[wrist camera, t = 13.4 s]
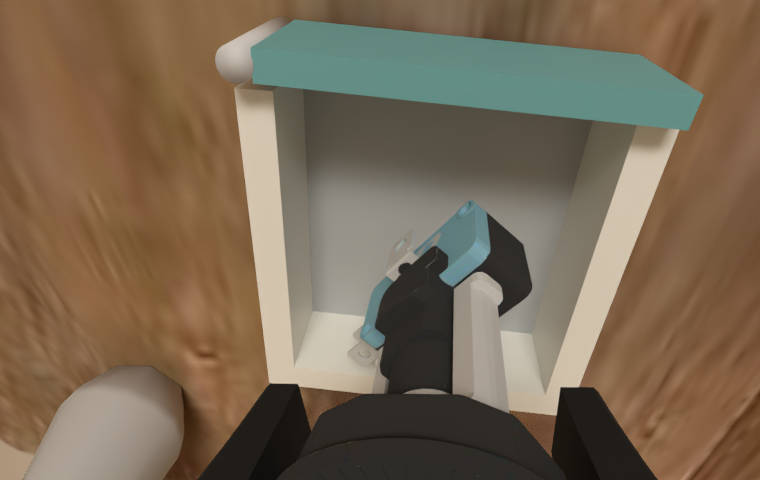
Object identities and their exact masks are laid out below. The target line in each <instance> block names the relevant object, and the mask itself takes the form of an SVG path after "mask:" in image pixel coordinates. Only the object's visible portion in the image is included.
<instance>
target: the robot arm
mask: <svg viewBox="0 0 760 480" xmlns="http://www.w3.org/2000/svg"><path fill="white" fill-rule="evenodd" d="M310 433H311V429H310V426H309V422H308V418H307V415H306V411H305V408H304V404H303V400H302V397H301V393H300V389H299V386H298V384H273V383H271V384H270V385H268V386H267V387H266V389H265V390H264V392H263V393H262V394H261V396H260V397H259V399H258V400H257V401H256V403H255V404H254V406H253V407H252V408H251V410H250V411H249V413H248V414H247V415H246V417H245V418H244V419H243V421H242V422H241V423H240V425H239V426H238V428H237V429H236V430H235V432H234V433H233V434H232V436H231V437H230V438H229V440H228V441H227V442H226V444H225V445H224V446H223V447H222V449H221V450H220V451H219V453H218V454H217V455H216V456H215V458H214V459H213V460H212V462H211V463H210V464H209V465H208V467H207V468H206V469H205V470H204V472H203V473H202V474H201V476H200V477H199V478H198V479H197V480H276V479H277V478H278V477H279V476H280V475H281V474H282V473H283V472H284V471H285V470H286V469H287V468H289V467H290V466H291V465H293V464H294V463H295V462H296V460H297V458H298V456H299V455H300V453H301V451H302V449H303V447H304V445H305V443H306V441H307V439H308V437H309V435H310ZM552 457H553V460H554V461H555V462H556V464H557V465H558V466H559V467H560V468H561V469H562V471H563V472H564V474H565V477H566V480H657V478H656V477H655V476H654V474H653V473H652V472H651V470H650V469H649V467H648V466H647V465H646V463H645V462H644V460H643V459H642V458H641V456H640V455H639V453H638V452H637V450H636V449H635V448H634V446H633V445H632V443H631V442H630V440H629V439H628V437H627V436H626V434H625V433H624V432H623V430H622V429H621V427H620V426H619V424H618V423H617V421H616V419H615V418H614V416H613V415H612V413H611V412H610V410H609V409H608V407H607V405H606V404H605V402H604V401H603V399H602V397H601V396H600V394H599V392H598V391H597V390H595V389H594V388H590V387H560V394H559V402H558V409H557V416H556V423H555V430H554V437H553V445H552Z"/></svg>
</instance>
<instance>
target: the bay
mask: <svg viewBox="0 0 760 480" xmlns="http://www.w3.org/2000/svg"><path fill="white" fill-rule="evenodd" d="M234 91H235V100H236V108H237V116H238V125H239V133H240V141H241V150H242V158H243V167H244V175H245V183H246V192H247V200H248V208H249V217H250V225H251V233H252V242H253V250H254V259H255V267H256V275H257V284H258V292H259V300H260V309H261V317H262V326H263V334H264V342H265V351H266V359H267V367H268V376H269V383H274V384H298V386H301V387H309V388H318V389H327V390H336V391H345V392H354V393H362V394H371V393H372V388H373V383H374V378H375V373H376V368H377V366H376V365H375V360H373V361H372V362H371V363H370V364H368V365H367V366H366V367H364V366H361V365H360V364H358V363H357V362H355V361H354V360H353V359H351V358H350V357H348V354H347V353H348V351H349V350H351V349H352V348H353V347H354V346H355V345H357V344H358V343H359V341H357V340H356V339H354V338H353V333H354V332H355V331H356V330H357V329H359V328H360V327H361V326H362V325H363V324H364V321H365V317H366V313H367V309H368V305H369V301H370V297H371V294H372V292H373V290H374V288H375V287H376V286H377V285H378V284H379V283H380V282H381V281H382V280H383V279H384V278H385V277H386V274H385V272H386V271H387V270H388V269H387V268H386V267H387V263H388V259H389V254H390V250H391V249H392V247H393V246H394V244H395V243H396V242H398V241H399V240H400V239H401V238H402V237H403V236H404V235H405V234H406V233H407V232H408V231H409V230H410V229H413V228H414V229H415V230H416V231H415V238H414V244H413V248H412V249H411V250H412V251H413V252H414V251H415V250H416V249H417V248H418V247H419V246H420V245H422V244H423V243H424V242H425V241H426V240H427V239H428V238H429V237H430V236H431V235H433V234H434V233H435V232H436V231H437V230H438V229H439V228H440V227H441V226H442V225H444V224H445V223H446V222H447V221H448V220H449V219H450V218H451V217H452V216H453V215H455V214H456V213H457V210H458V209H460V208H461V207H462V206H463V205H464V204H465V203H466V202H468V201H469V200H473V201H474V202H475V203H476V204H478V205H479V206H480V207H481V208H482V209H483V210H484V211H486V212H487V213H488V214H489V215H491V216H492V217H493V218H494V219H495V220H496V221H497V222H499V223H500V224H501V225H502V226H503V227H504V228H505V229H507V230H508V231H509V232H510V233H511V234H512V235H513V236H515V237H516V238H517V239H518V240H519V241H520V242H521V243H522V244H523V245H524V250H525V254H526V259H527V263H528V268H529V272H530V276H531V281H532V290H531V292H530V294H529V295H528V296H527V298H525V299H524V300H523V301H521V302H520V303H519V304H517V305H516V306H515V307H513V308H512V309H510V310H509V311H508V312H506V313H505V314H503V315H502V316H501V317H499V324H500V333H501V342H502V351H503V360H504V369H505V377H506V386H507V395H508V404H509V410H513V411H521V412H530V413H539V414H548V415H557V409H558V402H559V394H560V387H579V385H580V383H581V380H582V377H583V375H584V372H585V370H586V367H587V365H588V362H589V360H590V357H591V354H592V352H593V349H594V347H595V344H596V342H597V339H598V337H599V334H600V331H601V329H602V326H603V324H604V321H605V319H606V316H607V314H608V311H609V308H610V306H611V303H612V301H613V298H614V296H615V293H616V291H617V288H618V285H619V283H620V280H621V278H622V275H623V273H624V270H625V268H626V265H627V262H628V260H629V257H630V255H631V252H632V250H633V247H634V245H635V242H636V239H637V237H638V234H639V232H640V229H641V227H642V224H643V222H644V219H645V216H646V214H647V211H648V209H649V206H650V204H651V201H652V199H653V196H654V193H655V191H656V188H657V186H658V183H659V181H660V178H661V176H662V173H663V170H664V168H665V165H666V163H667V160H668V158H669V155H670V153H671V150H672V147H673V145H674V142H675V140H676V137H677V135H678V132H679V130H678V129H669V128H659V127H650V126H641V125H632V124H622V123H613V122H604V121H595V120H586V119H576V118H567V117H558V116H549V115H539V114H530V113H521V112H512V111H502V110H493V109H484V108H475V107H465V106H456V105H447V104H438V103H428V102H419V101H410V100H401V99H391V98H382V97H373V96H364V95H354V94H345V93H336V92H327V91H317V90H308V89H299V88H290V87H281V86H271V85H262V84H253V80H252V78H251V79H249V80H248V81H247V82H245V83H242V84H239V85H238V86H236V87H235V88H234ZM405 243H406V241H405V242H404V243H403V244H402V245H401V246H400V248H399V249H398V251H399V250H400V249H401V248H402V247H403V246H404V244H405ZM398 251H397V252H398ZM359 353H360V355H362V356H364V357H368V356H370V355H371V353H370V351H369V350H367V349H361V350H359Z"/></svg>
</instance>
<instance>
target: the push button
mask: <svg viewBox="0 0 760 480" xmlns="http://www.w3.org/2000/svg"><path fill="white" fill-rule="evenodd" d="M415 231H416V230H415V229H414V228H413V229H410V230H409V231H408V232H407V233H406V234H405V235H404V236H403V237H402V238H401V239H400V240H399V241H398V242H396V243H395V244H394V246H393V247H392V249H391V250H390V254H389V259H388V263H387V267H386V268H387V269H388V270H387V271H386V272H385V274H386V277H385V278H384V279H383V280H382V281H381V282H380V283H379V284H378V285H377V286H376V287H375V288H374V290H373V292H372V294H371V297H370V301H369V305H368V309H367V313H366V317H365V321H364V324H363V325H362V326H361V327H360V328H359V329H357V330H356V331H355V332H354V333H353V338H354V339H356V340H357V341H359V343H358V344H357V345H355V346H354V347H353V348H352V349H351V350H349V351H348V353H347V354H348V357H350V358H351V359H353V360H354V361H355V362H357V363H358V364H360V365H361V366H364V367H366V366H367V365H368V364H370V363H371V362H372V361H373V360H375V365H376V366H377V368H376V373H375V378H374V383H373V388H372V393H371V394H363V395H360V396H358V397H356V398H354V399H352V400H349V401H347V402H345V403H343V404H341V405H339V406H336V407H334V408H332V409H330V410H328V411H326V412H324V413H322V414H321V415H320V416H319V418H318V420H317V422H316V424H315V426H314V428H313V429H312V431H311V433H310V435H309V437H308V439H307V441H306V443H305V445H304V447H303V449H302V451H301V453H300V455H299V456H298V458H297V460H296V462H295V463H294V464H293V465H291V466H290V467H289V468H287V469H286V470H285V471H284V472H283V473H282V474H281V475H280V476H279V477H278V478H277V479H276V480H566V477H565V474H564V472H563V471H562V469H561V468H560V467H559V466H558V465H557V464H556V462H555V461H554V460H553V459H552V458H551V457H550V456H549V454H548V453H547V452H546V451H545V450H544V449H543V447H542V446H541V445H540V444H539V443H538V442H537V440H536V439H535V438H534V437H533V436H532V435H531V433H530V432H529V431H528V430H527V429H526V428H525V426H524V425H523V424H522V423H521V422H520V421H519V420H518V419H517V418H516V417H515V416H514V415H512V414H510V413H509V404H508V395H507V386H506V377H505V369H504V360H503V351H502V342H501V333H500V324H499V317H501V316H502V315H503V314H505V313H506V312H508V311H509V310H510V309H512V308H513V307H515V306H516V305H517V304H519V303H520V302H521V301H523V300H524V299H525V298H527V296H528V295H529V294H530V292H531V290H532V281H531V276H530V272H529V268H528V263H527V259H526V254H525V250H524V245H523V244H522V243H521V242H520V241H519V240H518V239H517V238H516V237H515V236H513V235H512V234H511V233H510V232H509V231H508V230H507V229H505V228H504V227H503V226H502V225H501V224H500V223H499V222H497V221H496V220H495V219H494V218H493V217H492V216H491V215H489V214H488V213H487V212H486V211H484V210H483V209H482V208H481V207H480V206H479V205H478V204H476V203H475V202H474V201H473V200H469V201H468V202H466V203H465V204H464V205H463V206H462V207H461V208H460V209H458V210H457V213H456V214H455V215H453V216H452V217H451V218H450V219H449V220H448V221H447V222H446V223H445V224H444V225H442V226H441V227H440V228H439V229H438V230H437V231H436V232H435V233H434V234H433V235H431V236H430V237H429V238H428V239H427V240H426V241H425V242H424V243H423V244H422V245H420V246H419V247H418V248H417V249H416V250H415V251H414V252H413V251H412V250H411V249H412V248H413V244H414V238H415ZM405 241H406V243H405V244H404V246H403V247H402V248H401V249H400V250H399V251H398V249H399V248H400V246H401V245H402V244H403V243H404V242H405ZM397 251H398V252H397ZM361 349H367V350H369V351H370V353H371V355H370V356H368V357H364V356H362V355H360V353H359V350H361Z"/></svg>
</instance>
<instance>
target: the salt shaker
mask: <svg viewBox="0 0 760 480" xmlns="http://www.w3.org/2000/svg"><path fill="white" fill-rule="evenodd" d="M183 438H184V404H183V397H182V390H181V386H180V385H178V384H177V383H175V382H174V381H172V380H171V379H169V378H168V377H166V376H165V375H163V374H162V373H160V372H159V371H157V370H156V369H154V368H153V367H151V366H115V367H114V368H112V369H110V370H108V371H107V372H105V373H103V374H101V375H99V376H98V377H96V378H94V379H92V380H91V381H89V382H87V383H85V384H84V385H82V386H80V387H79V388H78V389H77V390H76V391H75V392H74V393H73V394H72V395H71V396H69V397H68V398H67V399H66V400H65V401H64V402H63V403H62V404H61V405H60V407H59V409H58V411H57V413H56V414H55V416H54V418H53V420H52V422H51V424H50V426H49V428H48V430H47V432H46V434H45V436H44V438H43V440H42V442H41V444H40V446H39V448H38V450H37V451H36V453H35V455H34V457H33V459H32V461H31V463H30V465H29V467H28V469H27V471H26V473H25V475H24V477H23V479H22V480H163V478H164V477H165V475H166V474H167V473H168V471H169V470H170V468H171V467H172V466H173V464H174V463H175V461H176V460H177V459H178V456H179V453H180V450H181V447H182V442H183Z"/></svg>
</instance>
